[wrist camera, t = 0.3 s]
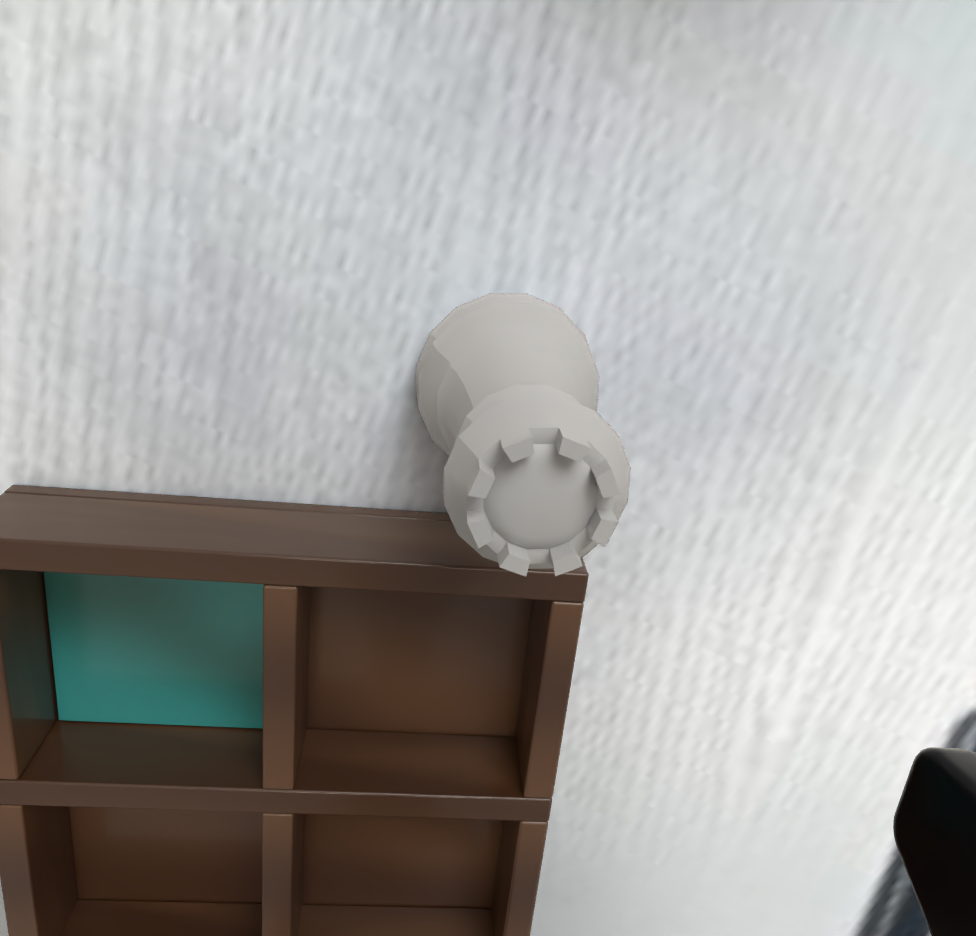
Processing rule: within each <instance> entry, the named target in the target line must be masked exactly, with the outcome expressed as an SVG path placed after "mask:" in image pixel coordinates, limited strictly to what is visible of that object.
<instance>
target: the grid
mask: <svg viewBox="0 0 976 936" xmlns="http://www.w3.org/2000/svg"><path fill="white" fill-rule="evenodd" d="M580 559H581V562H582V565H583V566H582V567H579V568H576V569H574V570H571V571H568V572H566V573H563V574H560V575H558V576H555V573H554V570H553V568H546V569H528V572H527V575H526V577H525V576H523V575H520V574H517V573H514V572H512V571H509V570H506V569H503V568H500V567H499V563H498V562H495V561H492V560H490V559H487V558H484V557H482V556H481V555H480V554H479V553H478V552H477V551H476V550H475V549H473V548H472V547H471V546H470V545H469V544H468V543H467V542H466V541H465V540H463V539H462V538H461V537H460V536H459V535H458V534H457V532H456V530H455V527H454V525H453V523H452V521H451V519H450V516H449V514H448V513H434V512H419V511H404V510H389V509H373V508H358V507H343V506H328V505H313V504H297V503H282V502H267V501H252V500H237V499H221V498H206V497H191V496H176V495H161V494H145V493H130V492H115V491H100V490H85V489H69V488H54V487H39V486H24V485H12V486H11V487H10V488H9V489H7V490H6V491H5V493H3V494H2V495H0V878H1V885H2V892H3V899H4V906H5V912H6V919H7V926H8V933H9V936H530V932H531V926H532V920H533V914H534V907H535V901H536V895H537V889H538V883H539V877H540V870H541V864H542V858H543V852H544V846H545V840H546V833H547V827H548V820H549V816H550V810H551V804H552V796H553V791H554V785H555V778H556V772H557V766H558V760H559V754H560V748H561V741H562V735H563V729H564V723H565V717H566V711H567V704H568V698H569V692H570V686H571V680H572V674H573V667H574V661H575V655H576V649H577V643H578V637H579V630H580V624H581V618H582V612H583V606H584V605H583V602H584V600H585V594H586V588H587V582H588V576H589V575H588V572H587V570H586V567H585V564H584V561H583V558H582V557H580Z"/></svg>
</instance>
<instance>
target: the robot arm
mask: <svg viewBox="0 0 976 936" xmlns="http://www.w3.org/2000/svg"><path fill="white" fill-rule="evenodd" d="M893 827H894V837H895V842H896V845H897V848H898V851H899V853H900V856H901V859H902V861H903V864H904V866H905V869H906V871H907V874H908V876H909V879H910V882H911V884H912V887H913V889H914V892H915V894H916V897H917V899H918V902H919V905H920V907H921V910H922V912H923V915H924V917H925V920H926V922H927V925H928V928H929V930H930V933H931V935H932V936H976V753H974V752H972V751H969V750H965V749H954V748H927V749H924V750H922V751H921V752H920V753H919V754H918V755H917V756H916V757H915V759H914V762H913V764H912V767H911V770H910V773H909V776H908V778H907V781H906V784H905V787H904V790H903V793H902V795H901V798H900V801H899V804H898V807H897V809H896V812H895V816H894V825H893Z"/></svg>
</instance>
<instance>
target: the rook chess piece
mask: <svg viewBox="0 0 976 936" xmlns="http://www.w3.org/2000/svg"><path fill="white" fill-rule="evenodd" d="M416 373H417V402H418V404H419V411H420V414H421V416H422V418H423V420H424V423H425V425H426V427H427V429H428V432H429V434H430V436H431V438H432V441H433V442H434V443H435V444H436V445H437V446H438V447H439V448H440V449H441V450H442V451H444V452H445V453H446V454H447V455H448V456H449V458H448V461H447V463H446V465H445V467H444V505H445V508H446V510H447V512H448V514H449V516H450V519H451V521H452V523H453V525H454V527H455V530H456V532H457V534H458V535H459V536H460V537H461V538H462V539H463V540H465V541H466V542H467V543H468V544H469V545H470V546H471V547H472V548H473V549H475V550H476V551H477V552H478V553H479V554H480V555H481V556H482V557H484V558H487V559H490V560H492V561H495V562H498V563H499V567H500V568H503V569H506V570H509V571H512V572H514V573H517V574H520V575H523V576H525V577H526V575H527V572H528V569H546V568H553V570H554V573H555V576H558V575H560V574H563V573H566V572H568V571H571V570H574V569H576V568H579V567H582V566H583V565H582V562H581V559H580V557H583V556H585V555H586V554H587V553H588V552H590V551H591V550H592V549H593V548H594V547H595V546H597V545H598V544H601V545H602V546H604V547H605V546H606V544H607V542H608V541H609V539H610V537H611V535H612V533H613V531H614V529H615V527H616V526H617V524H618V519H619V517H620V516H621V514H622V512H623V510H624V508H625V506H626V504H627V502H628V492H629V480H630V469H631V468H630V465H629V463H628V460H627V457H626V454H625V451H624V448H623V445H622V443H621V440H620V437H619V435H618V434H617V433H616V432H615V431H614V430H613V429H612V428H611V427H610V426H609V425H608V424H607V423H606V422H605V421H604V420H603V419H602V418H601V417H600V416H599V415H598V414H597V413H596V412H597V402H598V388H599V374H598V371H597V368H596V365H595V363H594V360H593V357H592V354H591V351H590V348H589V345H588V343H587V341H586V338H585V335H584V333H583V332H582V331H581V330H580V329H579V328H578V327H577V326H576V325H575V324H574V322H573V321H572V320H571V319H570V318H569V317H568V316H567V315H566V314H565V313H564V312H563V311H562V310H561V309H560V308H559V307H556V306H554V305H552V304H550V303H547V302H545V301H543V300H540V299H538V298H536V297H533V296H531V295H529V294H504V293H490V294H487V295H485V296H483V297H480V298H478V299H475V300H473V301H470V302H468V303H465V304H463V305H460V306H458V307H456V308H455V309H454V310H453V311H452V312H451V313H450V314H449V315H448V316H447V317H446V318H445V319H444V320H443V321H442V322H441V323H440V324H439V325H438V326H436V327H435V328H434V329H433V330H432V331H431V332H430V334H429V337H428V339H427V341H426V344H425V346H424V349H423V351H422V353H421V356H420V358H419V361H418V363H417V366H416Z"/></svg>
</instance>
